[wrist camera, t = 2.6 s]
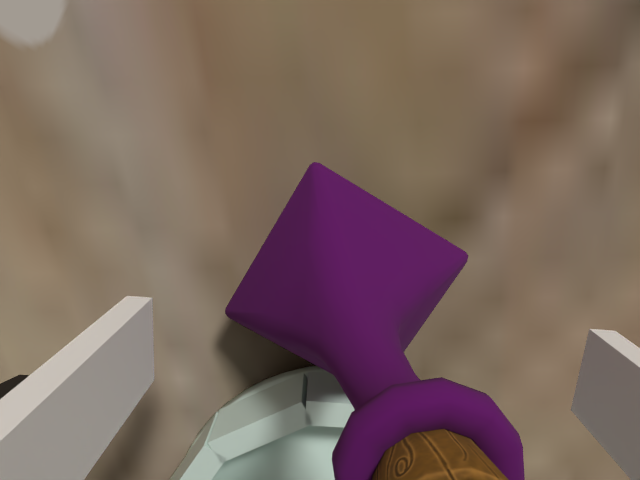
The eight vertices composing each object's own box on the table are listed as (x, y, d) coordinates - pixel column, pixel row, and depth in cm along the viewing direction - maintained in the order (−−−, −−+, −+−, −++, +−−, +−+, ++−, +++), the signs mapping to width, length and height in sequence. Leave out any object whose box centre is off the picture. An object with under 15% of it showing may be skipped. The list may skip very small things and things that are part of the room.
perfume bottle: (449, 237, 21) (1020, 706, 4) (365, 359, 23) (504, 1093, 5) (314, 155, 21) (268, 282, 3) (236, 287, 22) (-95, 884, 5)
